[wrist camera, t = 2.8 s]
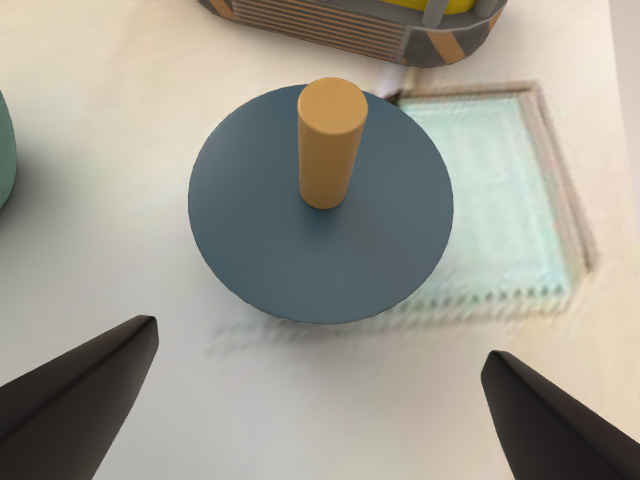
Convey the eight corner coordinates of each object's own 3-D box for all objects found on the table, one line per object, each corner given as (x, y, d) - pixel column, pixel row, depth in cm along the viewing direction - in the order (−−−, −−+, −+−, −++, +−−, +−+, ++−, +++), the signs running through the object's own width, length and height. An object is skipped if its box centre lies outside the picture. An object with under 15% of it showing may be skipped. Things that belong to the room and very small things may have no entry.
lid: (394, 376, 15) (465, 394, 8) (142, 254, 16) (30, 185, 10) (474, 150, 19) (565, 42, 13) (268, 66, 21) (252, -72, 14)
